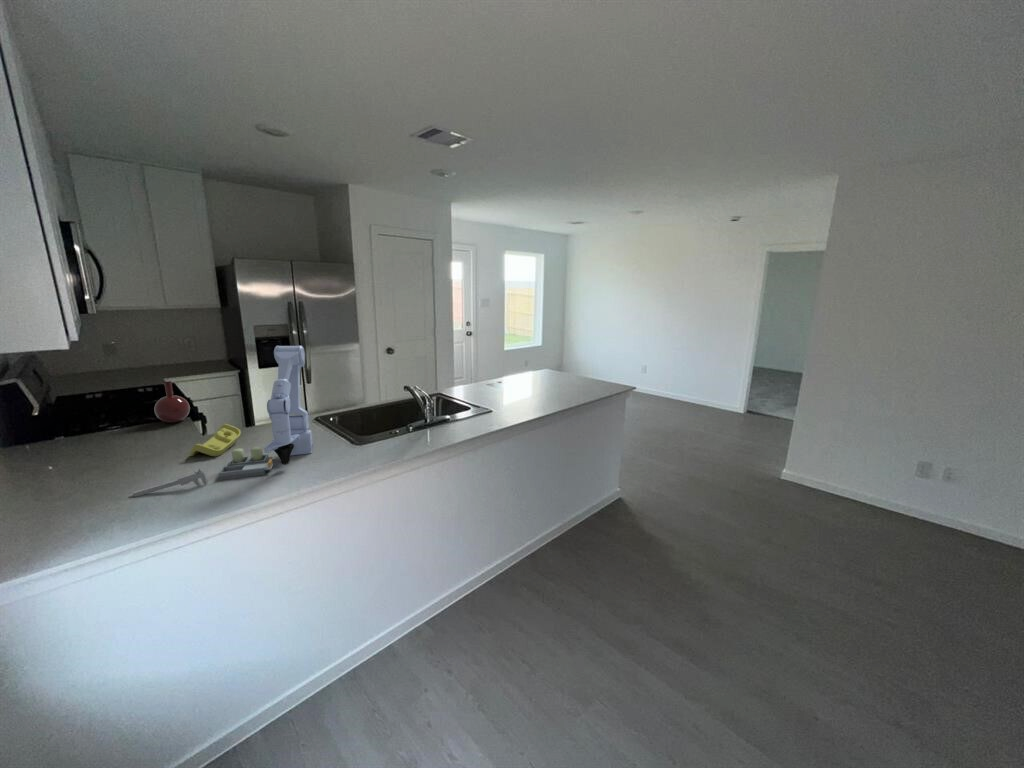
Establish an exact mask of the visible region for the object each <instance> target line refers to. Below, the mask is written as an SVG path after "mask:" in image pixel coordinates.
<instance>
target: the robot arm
mask: <svg viewBox="0 0 1024 768" xmlns="http://www.w3.org/2000/svg"><path fill="white" fill-rule="evenodd" d="M273 355H274V356H273V357H274V359H275V361H276V363H277V365H278V367H277V368H278V370H277V379H276V380H275V381H274V382H273V385H272V391H271V396H270V399H268V400H267V401H266V410H267V413H268V417H269V419H270V421H271V430H272V435H273V436H272V437H273V438H272V440H271V441H272V442H271V443H269V444H268V445H266V446H265V447H263V449H264V450H263V451H264V453H266V454H270V453H272V452H273V451H274V452H275V453H276V455H277V456H278V458H279V461H280V463H281V465H288V464H289V463H290V459H291V456H298V455H305V454H306V455H307V454H308V455H309V454H312V451H313V448H314V442H313V433H312V429H309V427H310V418H309V413H308V411H307V410H306V409H304V408H302V407H301V368H303V367H304V366H305V363H306V353H305V348H304V346H302V345H276V346H275V347H274V350H273Z"/></svg>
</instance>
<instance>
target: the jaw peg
mask: <svg viewBox="0 0 1024 768" xmlns="http://www.w3.org/2000/svg"><path fill="white" fill-rule="evenodd" d="M231 455H232V458H233V463H241V462H245V459H244V457H245V454H244V448H242V447H241V448H240V447H239V448H238V447H237V448H234V449H232V450H231Z"/></svg>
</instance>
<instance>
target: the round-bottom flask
mask: <svg viewBox="0 0 1024 768" xmlns="http://www.w3.org/2000/svg"><path fill="white" fill-rule="evenodd" d="M163 385H164V389H165V394H166V396H163V397H161V398H160V399H158V400H157V401H156V403H155V405H154V410H153V411H154V414H155V416H156V417H157V418H158V419H159V420H161V421H162V422H166V423H178V422H180V421H182V420H184V419H185V418H187V417H188V415H189V414H190V411H191V407H190V404H189V402H188V400H187V399H185V397H182V396H179V395H174V391H173V381H171V380H170V381H163Z"/></svg>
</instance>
